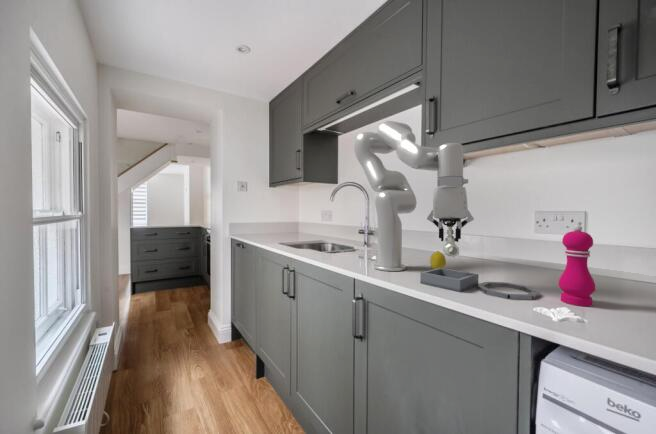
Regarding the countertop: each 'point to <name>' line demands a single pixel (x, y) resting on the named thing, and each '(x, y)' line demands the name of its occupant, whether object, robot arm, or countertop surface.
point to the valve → (450, 238)
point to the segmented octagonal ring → (483, 288)
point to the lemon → (437, 260)
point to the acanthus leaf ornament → (560, 314)
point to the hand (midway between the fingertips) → (449, 240)
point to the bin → (449, 279)
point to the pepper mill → (577, 269)
